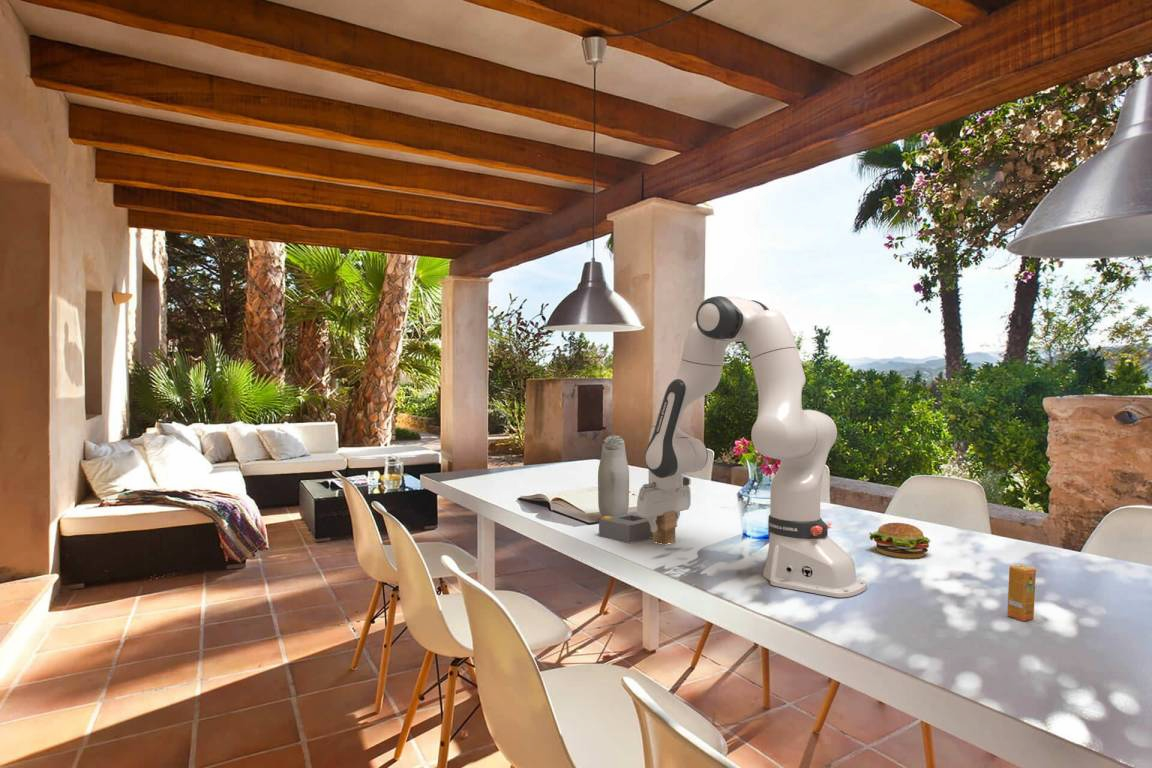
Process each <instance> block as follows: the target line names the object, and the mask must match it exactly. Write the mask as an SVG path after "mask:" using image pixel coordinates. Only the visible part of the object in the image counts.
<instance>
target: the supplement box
mask: <svg viewBox="0 0 1152 768" xmlns="http://www.w3.org/2000/svg"><path fill="white" fill-rule="evenodd" d="M1008 569H1009V571H1008V572H1009V573H1008V574H1009V575H1008V591H1007V592H1008V593H1007V616H1008V617H1010V618H1012V619H1015V620H1018V621H1020V622H1026V621H1031V620H1034V619H1035V618H1034V616H1035V613H1034V612H1035V596H1036V595H1035V593H1036V574H1037V569H1036V568H1034V567H1031V566H1028V565H1025V564H1021V563H1019V564H1015V565H1010V566H1009V568H1008Z"/></svg>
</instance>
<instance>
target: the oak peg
mask: <svg viewBox="0 0 1152 768" xmlns="http://www.w3.org/2000/svg"><path fill="white" fill-rule="evenodd" d="M655 522H656V524H657V525H658V526H659V531H658V532H655V533H654V532H653V537H652V543H654V542H657V543H656V544H658V543H662V544H668V543H672V542H675V543H676V527H675V511H670V512H665V513H664V515H661V516H657V520H655ZM662 544H661V545H662ZM672 544H673V543H672ZM668 545H669V544H668Z"/></svg>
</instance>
